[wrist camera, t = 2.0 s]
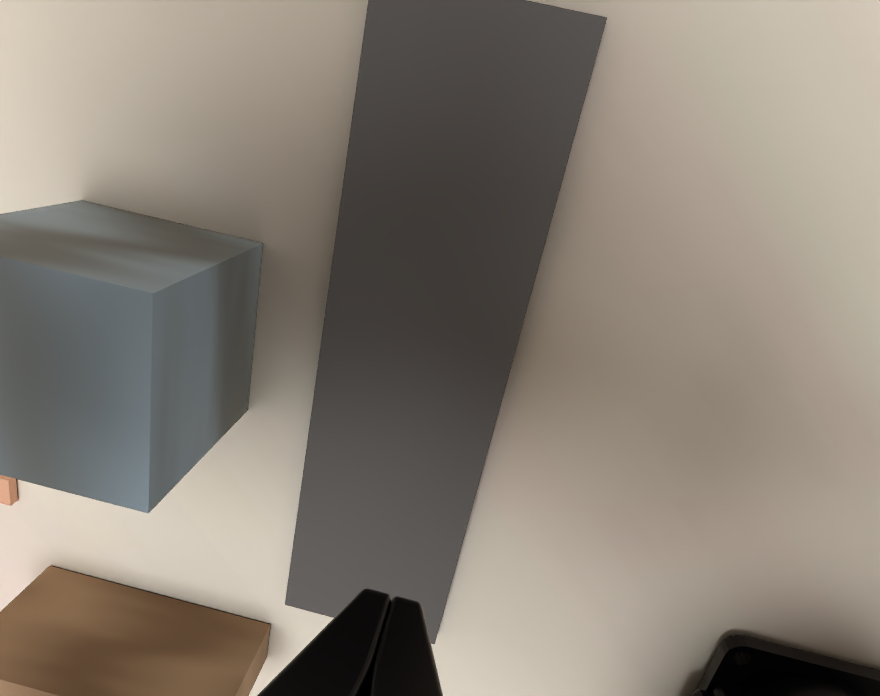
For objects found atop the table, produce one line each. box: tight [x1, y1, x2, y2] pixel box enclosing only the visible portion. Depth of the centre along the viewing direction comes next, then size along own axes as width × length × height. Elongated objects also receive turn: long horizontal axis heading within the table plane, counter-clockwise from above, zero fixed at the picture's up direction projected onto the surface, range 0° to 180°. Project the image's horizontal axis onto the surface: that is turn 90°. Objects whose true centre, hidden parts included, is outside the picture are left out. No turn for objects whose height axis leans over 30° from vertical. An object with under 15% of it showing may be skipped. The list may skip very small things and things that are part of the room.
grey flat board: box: [285, 0, 607, 644], centre depth 16 cm, size 5×18×1 cm, turn 168°
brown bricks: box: [0, 566, 271, 696], centre depth 14 cm, size 8×24×4 cm, turn 168°
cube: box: [0, 200, 263, 513], centre depth 14 cm, size 5×5×5 cm
